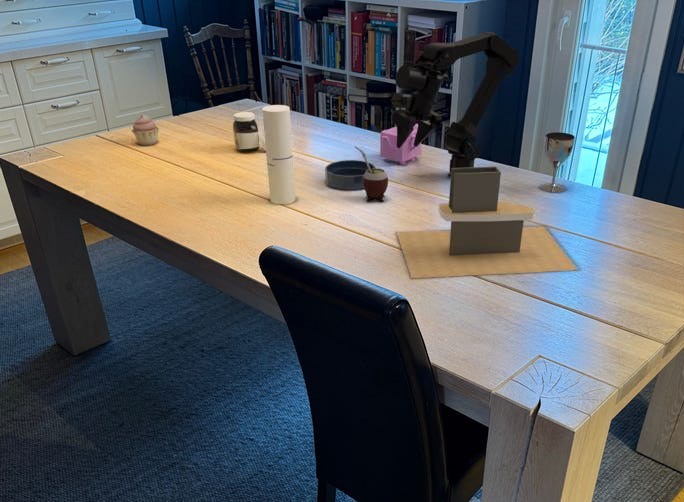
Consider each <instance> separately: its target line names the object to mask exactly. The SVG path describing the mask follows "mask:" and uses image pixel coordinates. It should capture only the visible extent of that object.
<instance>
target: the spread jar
mask: <svg viewBox="0 0 684 502" xmlns="http://www.w3.org/2000/svg"><path fill="white" fill-rule="evenodd" d="M233 120H234V121H233V123H232V134H233V141H234V146H235V150H236V151H237V152H239V153H244V154H250V153H254V152H257V151H258V150H260V145H261V147H262V148H263V150H264V151H265V152H266V145H265V134H264V129H261V130H259V127H258V124H257V121H256V119H255V113H253V112H250V111H241V112H237V113H234V114H233Z"/></svg>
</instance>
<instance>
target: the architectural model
mask: <svg viewBox="0 0 684 502" xmlns="http://www.w3.org/2000/svg"><path fill="white" fill-rule="evenodd" d="M501 175H502V171H501V170H500V169H499V168H498V166H474V167H469V168H451V177H450V181H449V182H450V183H449V195H448V197H449V198H448V202H446V203H445V202H441V203H439V204H438V214H439V216H440V218H442V220H444V221H446V222H450V230H432V231H431V230H430V231H407V232H406V231H405V232H396V236H397V238H398V242H399V244H400V247H401V248H400V249H401V251H402V253H403V257H404V260H405V264H406V266H407V269H408V271H409V275H410V279H423V278H424V279H425V278H426V279H427V278H446V277H465V276H466V277H467V276H485V275H488V276H489V275H504V274H505V275H508V274H526V273H545V272H568V271H579V269H578V267H577V266H576V265H575V264H574V263H573V261H572V259H570V257H569V256H568V255H567V254H566V252H565V251H564V249H562V247H561V246H560V245H559V243H558V242H557V241H556V240H555V238H554V237H553V236H552V235H551V234H550V232H549V231H548V230H547V228H546V227H545V226H544V225H543V226H542V225H541V226H524V222H525V221H532V220H535V219H536V213H537V211H536V210H535V209H534V207H532V206H527V205H524V204H518V203H512V202H509V201H508V202H507V201H500V200H499V195H500V186H501Z"/></svg>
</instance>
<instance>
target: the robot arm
mask: <svg viewBox="0 0 684 502" xmlns="http://www.w3.org/2000/svg"><path fill="white" fill-rule="evenodd" d="M482 52H483V54H484V55H485V56H486V58H487V60H486V63H485V75H484V77H483V79H482V81H481V82H480V84H479V86H478V88H477V90H476V92H475V93H474V96H473V98H472V99H471V102H470V103H469V105H468V107H467V109H466V111H465V112H464V114H463V116H462V118H461V119H460V120H459V121H458V122H456V121H452V122H451V123H450V126H449V127H448V129H447V131H446V132H445V138H444V142H445V147H446V149H447V152H448V153H447V154H449V155H451V158H450V159H449V172H448V174H447V177H449V178H451V168H469V167H475V160H476V159H478V158H479V156H480V153H481V150H480V149H479V148H478V146H477V145H476V140H477V137H478V136H477V132H478V131H477V130H478V129H477V128H478V125H479V124H480V122H481V120H482V118H483V116H484V115H485V113H486V111H487V109H488V107H489V105H490V103H491V102H492V99H493V97H494V96H495V94H496V92H497V91H498V88H499V86H500V85H501V83H502V82H503V81H504V80H505V79H507V78H509V76H511V75H512V74H513V72H514V71H515V69H516V68H517V66H518V65H519V61H520V57H519V52H518V50H517V49H516V48H513V47H512V46H511V45H509V44H508V43H506V41H504V40H502V38H500V36H499V35H498V34H497V33H495V32H489V31H484V32H481V33H480V34H476V35H473V36H470V37H469V36H468V37H466V38H463V39H460V40H456V41H453V42H430V43H428V44H427V45H426V46H425V48H424V49H423V51H422V52H421V54H420V55H419V56H418V57H417V58H416V59H415V60H414V62H412V61H408V60H404V61H403V65H401V66H400V67H399V68H398V69H397V72H396V73H395V79H394V80H395V84H396V86H397V87H398V88H399V89H403V90H409V91H412V93H411V94H410V96H405V95H404V93H403V92H394V94H393V96H392V98H391V100H390V102H391V104H392V106H393V109H395V110H393V111H392V113H391V116H390V119H391V120H392V122H393V123H394V125H395V127H397V148H401V146H402V145H403V144H404V142H405V141H406V140H407V138H408V137H409V135H410V134H411V133H412V131H413V130H414V128H413V127H414V126H415V125H416V124H418V128H417V133H416V136H415V140H414V146H416V147H417V146H418V145H419V144H420V143H421V144H422V142H423V141H424V140H425V139H426V138H428V137H429V135H431V134H432V132H434V131H435V130H436V129H438V127H440V126H441V125H442V122H443V118H442V115H441V114H439V113H437V112H435V111H434V110H433V108H434V106H437V104H438V101H439V100H437V97H438V94H439V92H440V89H441V86H442V84H443V81H445V82H450V77H449V75H448V71H447V70H446V69H448V68H449V67H451V66H453V65H455V63H456V62H457V61H458V60H459V59H462V58H466V57H469V56H472V55H476V54H479V53H482ZM398 108H399V109H398Z"/></svg>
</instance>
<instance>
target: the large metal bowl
mask: <svg viewBox="0 0 684 502" xmlns="http://www.w3.org/2000/svg"><path fill="white" fill-rule="evenodd" d="M368 164H369V167H370V169H373V168H376V167H377V166H375V164H373V163H371V162H369V161H368ZM367 170H369V169H368V167H367V164H366V162H365V160H357V159H346V160H345V159H344V160H338V161H334V162H331V163H328V164H327V165H326V166H325V168H324V176H325V177H324V179H325V183H326V184H327V186H329V187H331V188H334V189H338V190H345V191H346V190H349V191H350V190H353V191H354V190H361V189H364V186H363V178H364V174H365V172H366V171H367Z"/></svg>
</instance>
